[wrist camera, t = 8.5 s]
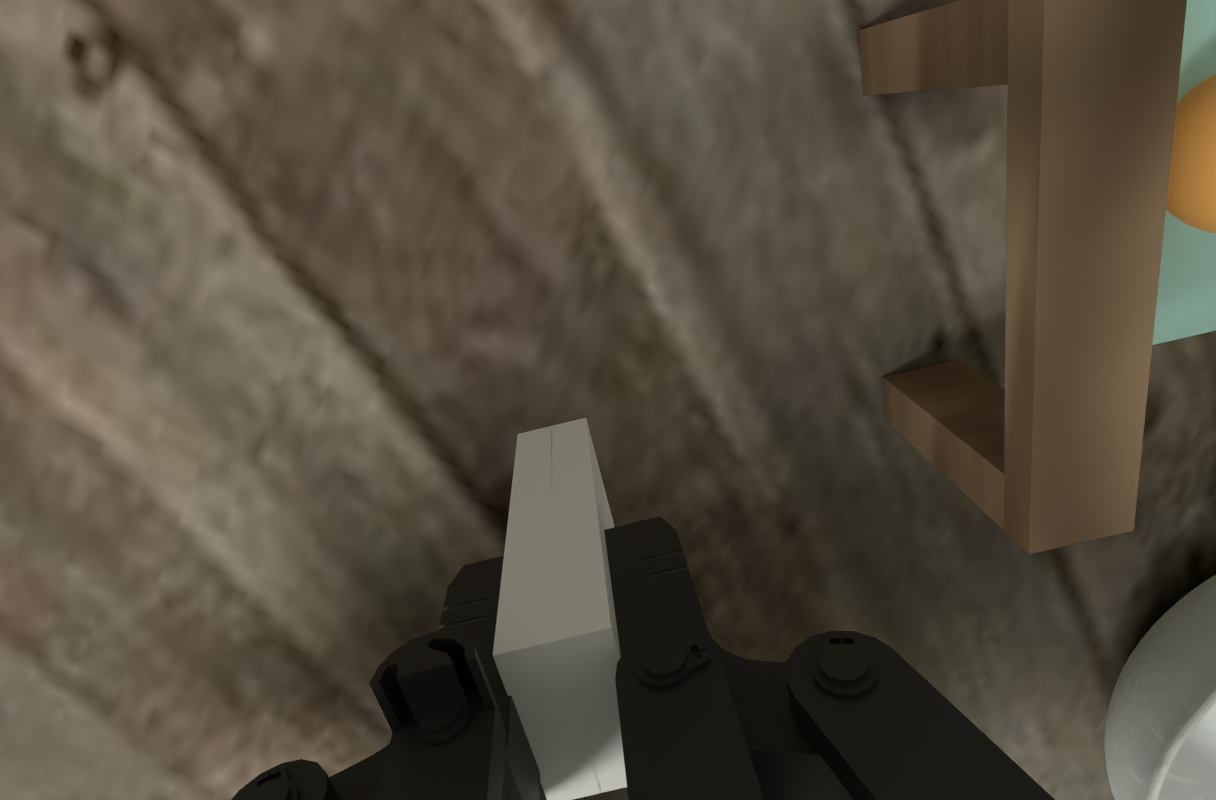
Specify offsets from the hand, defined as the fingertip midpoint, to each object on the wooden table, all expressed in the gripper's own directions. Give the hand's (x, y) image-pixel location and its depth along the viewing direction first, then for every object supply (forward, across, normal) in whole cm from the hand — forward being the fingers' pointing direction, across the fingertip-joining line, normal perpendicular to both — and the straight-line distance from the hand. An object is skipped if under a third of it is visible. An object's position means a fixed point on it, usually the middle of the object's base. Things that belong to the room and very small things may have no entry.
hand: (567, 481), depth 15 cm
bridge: (+11, -14, 0) cm, 18 cm away
